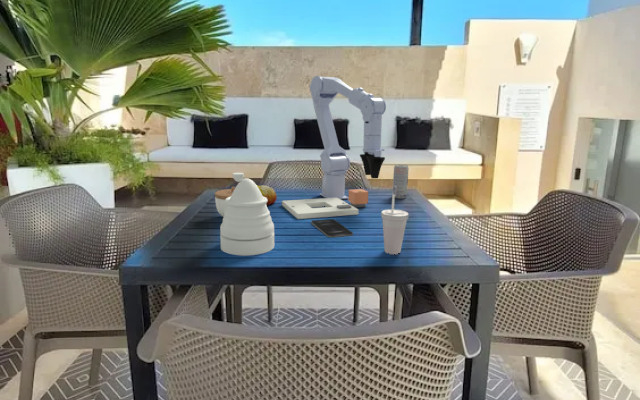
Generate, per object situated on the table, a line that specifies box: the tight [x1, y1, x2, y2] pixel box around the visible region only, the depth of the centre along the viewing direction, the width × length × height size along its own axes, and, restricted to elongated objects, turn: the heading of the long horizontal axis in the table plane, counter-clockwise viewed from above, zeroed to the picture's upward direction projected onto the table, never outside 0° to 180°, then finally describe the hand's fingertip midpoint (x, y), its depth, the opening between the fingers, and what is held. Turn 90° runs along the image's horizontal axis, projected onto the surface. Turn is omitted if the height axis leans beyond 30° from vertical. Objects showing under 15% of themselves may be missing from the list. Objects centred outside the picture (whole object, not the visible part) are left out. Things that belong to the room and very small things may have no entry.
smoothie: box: [380, 194, 410, 255], centre depth 101 cm, size 6×6×14 cm
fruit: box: [256, 184, 278, 206], centre depth 148 cm, size 11×10×8 cm
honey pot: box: [219, 172, 275, 256], centre depth 103 cm, size 13×13×18 cm
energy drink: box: [391, 164, 409, 200], centre depth 161 cm, size 5×5×12 cm
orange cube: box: [347, 188, 369, 208], centre depth 147 cm, size 5×5×5 cm
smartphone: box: [310, 218, 354, 239], centre depth 120 cm, size 8×1×15 cm
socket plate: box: [281, 197, 360, 220], centre depth 141 cm, size 18×20×2 cm
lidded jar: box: [214, 186, 236, 219], centre depth 129 cm, size 11×11×9 cm
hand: (371, 176), depth 144 cm, fingers open, 7 cm apart
